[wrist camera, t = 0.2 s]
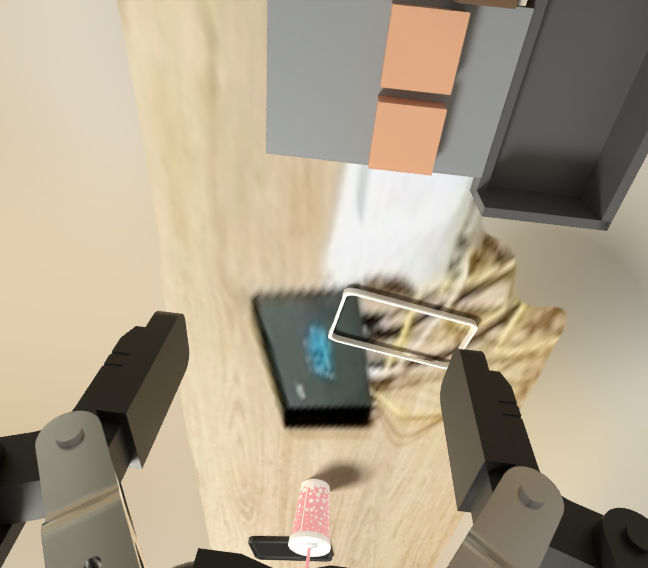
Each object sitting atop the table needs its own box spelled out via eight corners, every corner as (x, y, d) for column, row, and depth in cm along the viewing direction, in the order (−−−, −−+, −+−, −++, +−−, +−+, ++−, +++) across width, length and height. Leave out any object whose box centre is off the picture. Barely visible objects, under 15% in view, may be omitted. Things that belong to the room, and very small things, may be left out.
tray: (536, -29, 30) (562, -28, 26) (684, -13, 30) (733, -9, 26) (470, 190, 39) (481, 216, 35) (582, 203, 39) (606, 230, 35)
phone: (246, 540, 82) (327, 542, 79) (248, 533, 83) (327, 535, 80) (256, 559, 86) (332, 562, 84) (257, 553, 87) (333, 555, 85)
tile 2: (377, 95, 34) (378, 101, 32) (443, 102, 34) (447, 109, 32) (368, 159, 37) (368, 168, 35) (428, 165, 36) (431, 175, 35)
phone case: (477, 317, 48) (346, 283, 47) (480, 326, 47) (345, 290, 46) (449, 362, 53) (328, 331, 51) (451, 371, 52) (327, 339, 50)
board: (272, -22, 32) (267, -21, 30) (525, 6, 31) (534, 8, 30) (270, 145, 39) (266, 153, 37) (476, 169, 38) (481, 177, 37)
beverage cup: (306, 499, 73) (295, 597, 61) (289, 479, 70) (274, 579, 58) (340, 493, 71) (335, 594, 60) (324, 473, 68) (315, 575, 57)
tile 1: (391, 1, 30) (392, 4, 28) (465, 9, 30) (470, 12, 28) (379, 81, 33) (380, 87, 31) (446, 88, 33) (450, 94, 31)
